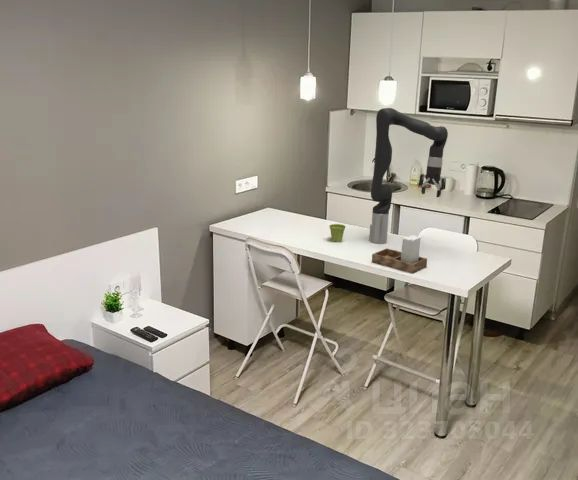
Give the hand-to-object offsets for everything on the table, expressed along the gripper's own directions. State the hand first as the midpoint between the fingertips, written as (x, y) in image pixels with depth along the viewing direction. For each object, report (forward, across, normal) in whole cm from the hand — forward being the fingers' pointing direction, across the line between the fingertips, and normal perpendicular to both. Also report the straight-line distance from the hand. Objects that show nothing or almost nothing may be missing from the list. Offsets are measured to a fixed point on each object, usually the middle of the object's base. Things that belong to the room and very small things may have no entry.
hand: (430, 195), depth 324 cm
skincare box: (+32, +6, -26) cm, 42 cm away
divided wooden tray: (+32, 0, -27) cm, 42 cm away
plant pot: (+34, -47, -15) cm, 60 cm away
